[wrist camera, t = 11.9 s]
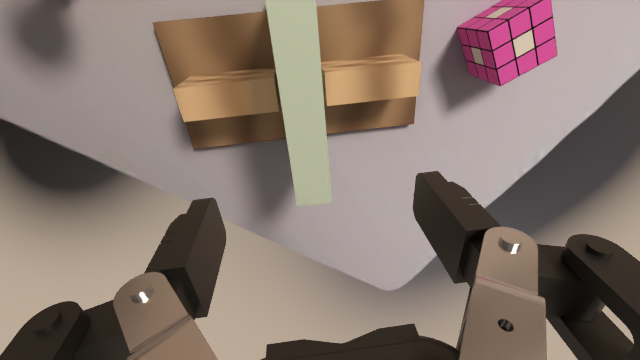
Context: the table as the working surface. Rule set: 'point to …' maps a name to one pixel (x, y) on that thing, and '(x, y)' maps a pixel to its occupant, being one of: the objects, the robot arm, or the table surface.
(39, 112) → the table surface
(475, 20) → the puzzle toy
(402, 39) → the oak slotted rail
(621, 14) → the table surface
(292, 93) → the sage slotted plate
